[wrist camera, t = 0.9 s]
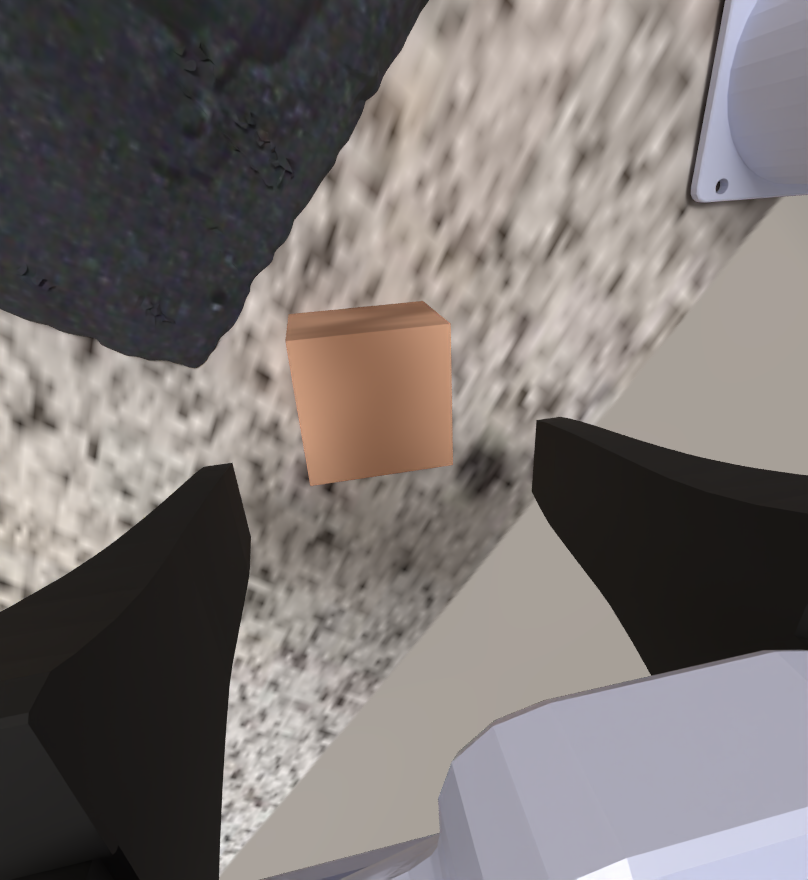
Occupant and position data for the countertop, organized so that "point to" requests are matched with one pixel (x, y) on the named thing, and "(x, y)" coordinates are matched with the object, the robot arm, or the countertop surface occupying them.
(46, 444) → the countertop surface
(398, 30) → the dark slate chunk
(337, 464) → the terracotta block
